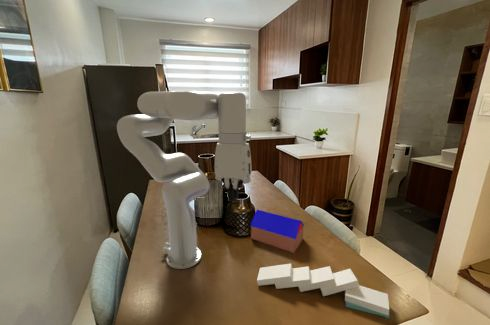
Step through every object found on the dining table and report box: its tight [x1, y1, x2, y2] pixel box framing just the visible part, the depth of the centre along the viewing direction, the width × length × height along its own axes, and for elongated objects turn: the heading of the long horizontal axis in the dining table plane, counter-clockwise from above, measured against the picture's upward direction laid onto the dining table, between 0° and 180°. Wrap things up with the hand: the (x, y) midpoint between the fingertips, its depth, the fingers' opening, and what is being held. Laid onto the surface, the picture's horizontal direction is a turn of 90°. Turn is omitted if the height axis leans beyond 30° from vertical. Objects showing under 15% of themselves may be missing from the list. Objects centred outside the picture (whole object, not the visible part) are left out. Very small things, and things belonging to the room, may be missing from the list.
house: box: [250, 209, 305, 254], centre depth 100 cm, size 12×20×12 cm, turn 59°
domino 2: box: [274, 266, 311, 290], centre depth 75 cm, size 2×6×11 cm
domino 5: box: [344, 284, 390, 315], centre depth 68 cm, size 2×6×11 cm
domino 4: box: [320, 268, 360, 297], centre depth 73 cm, size 2×6×11 cm
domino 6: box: [344, 290, 391, 319], centre depth 69 cm, size 2×6×11 cm
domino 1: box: [256, 263, 293, 287], centre depth 76 cm, size 2×6×11 cm
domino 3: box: [298, 265, 336, 293], centre depth 74 cm, size 2×6×11 cm
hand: (232, 199), depth 70 cm, fingers closed
